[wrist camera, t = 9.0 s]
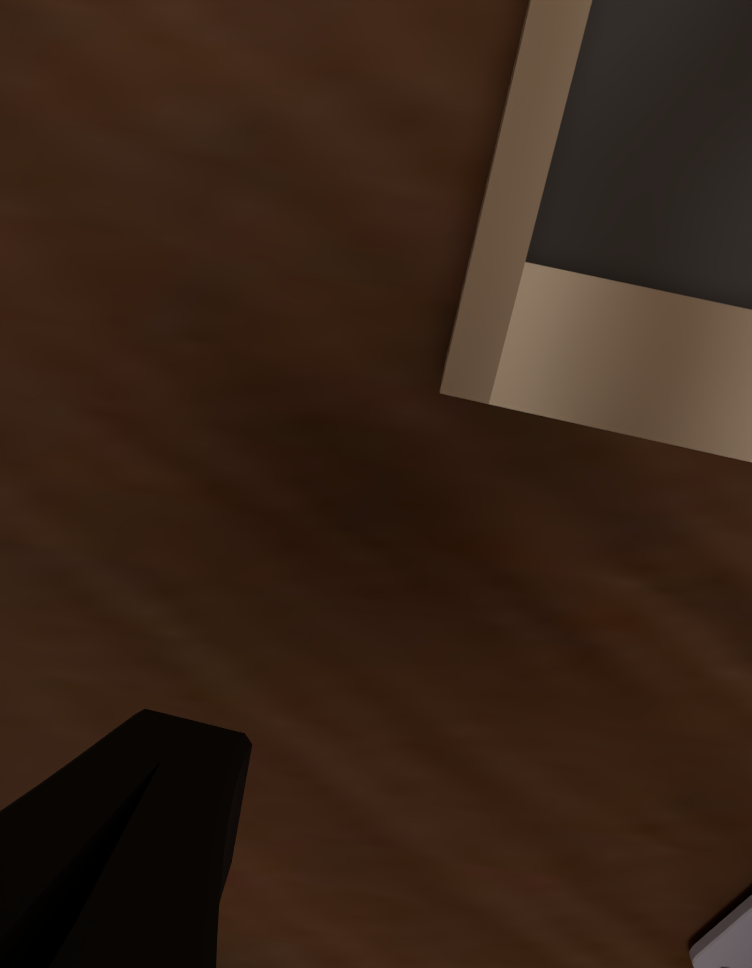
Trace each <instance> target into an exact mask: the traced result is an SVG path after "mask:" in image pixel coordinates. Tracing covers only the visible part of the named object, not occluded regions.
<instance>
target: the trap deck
mask: <svg viewBox="0 0 752 968" xmlns="http://www.w3.org/2000/svg"><path fill="white" fill-rule="evenodd" d="M440 393H441V394H445V395H450V396H454V397H459V398H463V399H468V400H472V401H477V402H481V403H486V404H490V405H495V406H499V407H504V408H509V409H513V410H518V411H522V412H527V413H531V414H536V415H540V416H545V417H549V418H554V419H558V420H563V421H567V422H572V423H576V424H581V425H585V426H590V427H594V428H599V429H603V430H608V431H612V432H617V433H621V434H626V435H630V436H635V437H640V438H644V439H649V440H653V441H658V442H662V443H667V444H671V445H676V446H680V447H685V448H689V449H694V450H698V451H703V452H707V453H712V454H716V455H721V456H725V457H730V458H734V459H739V460H743V461H748V462H752V0H529V3H528V7H527V11H526V16H525V20H524V24H523V29H522V33H521V37H520V42H519V46H518V50H517V54H516V59H515V63H514V67H513V72H512V76H511V80H510V85H509V89H508V93H507V98H506V102H505V106H504V111H503V115H502V119H501V123H500V128H499V132H498V136H497V141H496V145H495V149H494V154H493V158H492V162H491V167H490V171H489V175H488V179H487V184H486V188H485V192H484V197H483V201H482V205H481V210H480V214H479V218H478V223H477V227H476V231H475V236H474V240H473V244H472V248H471V253H470V257H469V261H468V266H467V270H466V274H465V279H464V283H463V287H462V292H461V296H460V300H459V305H458V309H457V313H456V317H455V322H454V326H453V330H452V335H451V339H450V343H449V348H448V352H447V356H446V361H445V365H444V369H443V374H442V381H441V387H440Z"/></svg>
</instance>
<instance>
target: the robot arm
mask: <svg viewBox="0 0 752 968" xmlns="http://www.w3.org/2000/svg"><path fill="white" fill-rule="evenodd" d="M251 748H252V743H251V742H250V740H249V739H248V737H247V736H246V735H245V733H241V732H237V731H233V730H229V729H225V728H221V727H217V726H213V725H209V724H205V723H201V722H196V721H192V720H188V719H184V718H180V717H176V716H172V715H168V714H164V713H160V712H156V711H152V710H148V709H144V710H142V711H140V712H138V713H137V714H135V715H133V716H132V717H131V718H129V719H128V720H127V721H125V722H124V723H123V724H121V725H120V726H119V727H117V728H116V729H114V730H113V731H112V732H110V733H109V734H108V735H106V736H105V737H104V738H102V739H101V740H100V741H98V742H97V743H96V744H94V745H93V746H92V747H90V748H89V749H88V750H86V751H85V752H83V753H82V754H81V755H79V756H78V757H77V758H75V759H74V760H72V761H71V762H70V763H68V764H67V765H66V766H64V767H63V768H61V769H60V770H59V771H57V772H56V773H54V774H53V775H52V776H50V777H49V778H48V779H46V780H45V781H43V782H42V783H41V784H39V785H38V786H36V787H35V788H33V789H32V790H30V791H29V792H27V793H26V794H25V795H23V796H22V797H20V798H19V799H17V800H16V801H14V802H13V803H11V804H10V805H9V806H7V807H6V808H4V809H3V810H1V811H0V968H216V952H217V930H218V913H219V903H220V899H221V895H222V892H223V889H224V885H225V882H226V879H227V876H228V872H229V869H230V866H231V862H232V857H233V851H234V845H235V840H236V834H237V828H238V822H239V817H240V811H241V805H242V800H243V794H244V788H245V782H246V777H247V771H248V765H249V760H250V754H251ZM689 956H690V959H691V962H692V965H693V967H694V968H752V895H751V896H749V897H748V898H747V899H746V900H745V901H744V902H743V903H741V904H740V905H739V906H738V907H737V908H736V909H734V910H733V911H732V912H731V913H730V914H729V915H728V916H726V917H725V918H724V919H723V920H722V921H721V922H720V923H718V924H717V925H716V926H715V927H714V928H713V929H712V930H710V931H709V932H708V933H707V934H706V935H705V936H703V937H702V938H701V939H700V940H699V941H698V942H697V943H695V944H694V945H693V946H692V948H691V949H690V953H689Z"/></svg>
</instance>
